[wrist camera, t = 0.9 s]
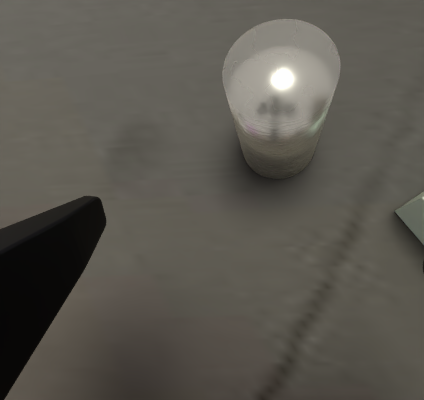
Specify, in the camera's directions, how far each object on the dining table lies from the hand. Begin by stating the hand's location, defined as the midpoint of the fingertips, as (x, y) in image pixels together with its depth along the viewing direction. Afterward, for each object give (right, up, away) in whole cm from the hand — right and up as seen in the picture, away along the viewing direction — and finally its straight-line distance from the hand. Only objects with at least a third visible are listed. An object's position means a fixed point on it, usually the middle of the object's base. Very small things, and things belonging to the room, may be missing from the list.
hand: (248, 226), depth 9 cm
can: (+4, +5, +14) cm, 15 cm away
